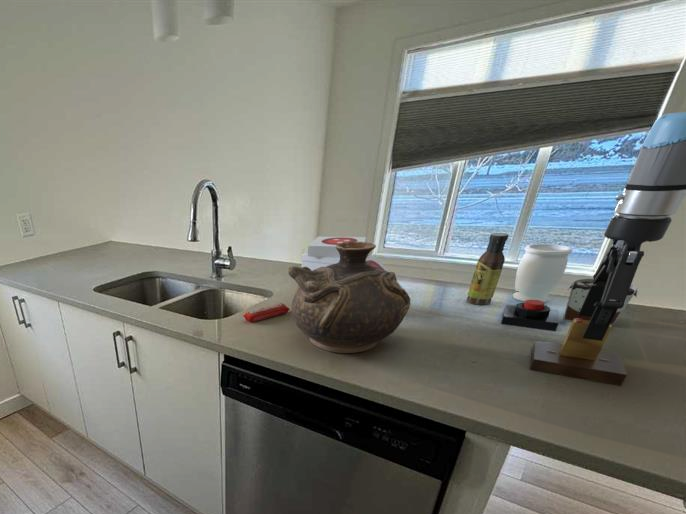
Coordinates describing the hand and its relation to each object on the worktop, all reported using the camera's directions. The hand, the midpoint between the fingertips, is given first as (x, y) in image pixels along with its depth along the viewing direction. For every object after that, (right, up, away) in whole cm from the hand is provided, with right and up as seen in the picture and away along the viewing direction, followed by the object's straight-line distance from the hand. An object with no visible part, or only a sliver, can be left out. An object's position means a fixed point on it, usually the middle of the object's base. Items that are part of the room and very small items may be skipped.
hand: (589, 326), depth 82 cm
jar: (+22, +14, +39) cm, 47 cm away
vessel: (-40, 0, +25) cm, 47 cm away
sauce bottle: (+7, +13, +40) cm, 42 cm away
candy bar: (-56, +9, +44) cm, 72 cm away
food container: (+24, +5, +23) cm, 34 cm away
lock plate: (+1, -8, +4) cm, 9 cm away
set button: (+9, +8, +24) cm, 27 cm away
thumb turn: (+1, -6, +3) cm, 7 cm away
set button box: (+10, +5, +25) cm, 28 cm away
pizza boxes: (-28, +16, +51) cm, 61 cm away
